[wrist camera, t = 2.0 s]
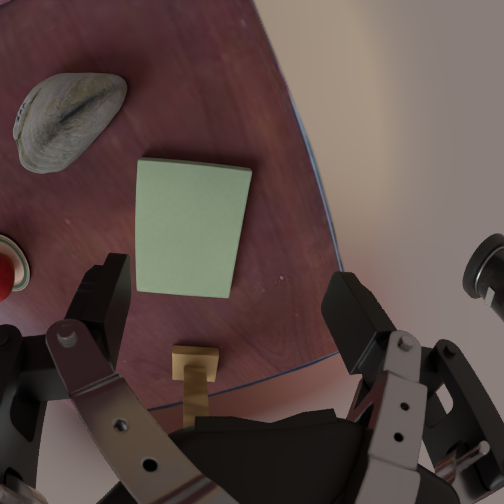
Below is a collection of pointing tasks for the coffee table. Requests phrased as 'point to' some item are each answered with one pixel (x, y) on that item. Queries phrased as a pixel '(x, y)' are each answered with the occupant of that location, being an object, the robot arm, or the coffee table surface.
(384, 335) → the robot arm
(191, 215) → the pale green rectangular panel
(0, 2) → the video game controller
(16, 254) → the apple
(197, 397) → the stand
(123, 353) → the coffee table surface
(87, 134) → the seashell
